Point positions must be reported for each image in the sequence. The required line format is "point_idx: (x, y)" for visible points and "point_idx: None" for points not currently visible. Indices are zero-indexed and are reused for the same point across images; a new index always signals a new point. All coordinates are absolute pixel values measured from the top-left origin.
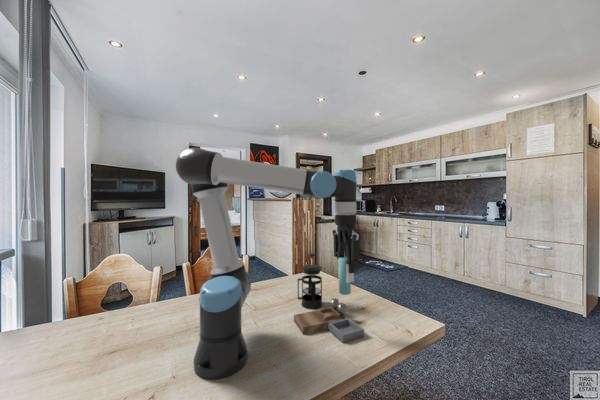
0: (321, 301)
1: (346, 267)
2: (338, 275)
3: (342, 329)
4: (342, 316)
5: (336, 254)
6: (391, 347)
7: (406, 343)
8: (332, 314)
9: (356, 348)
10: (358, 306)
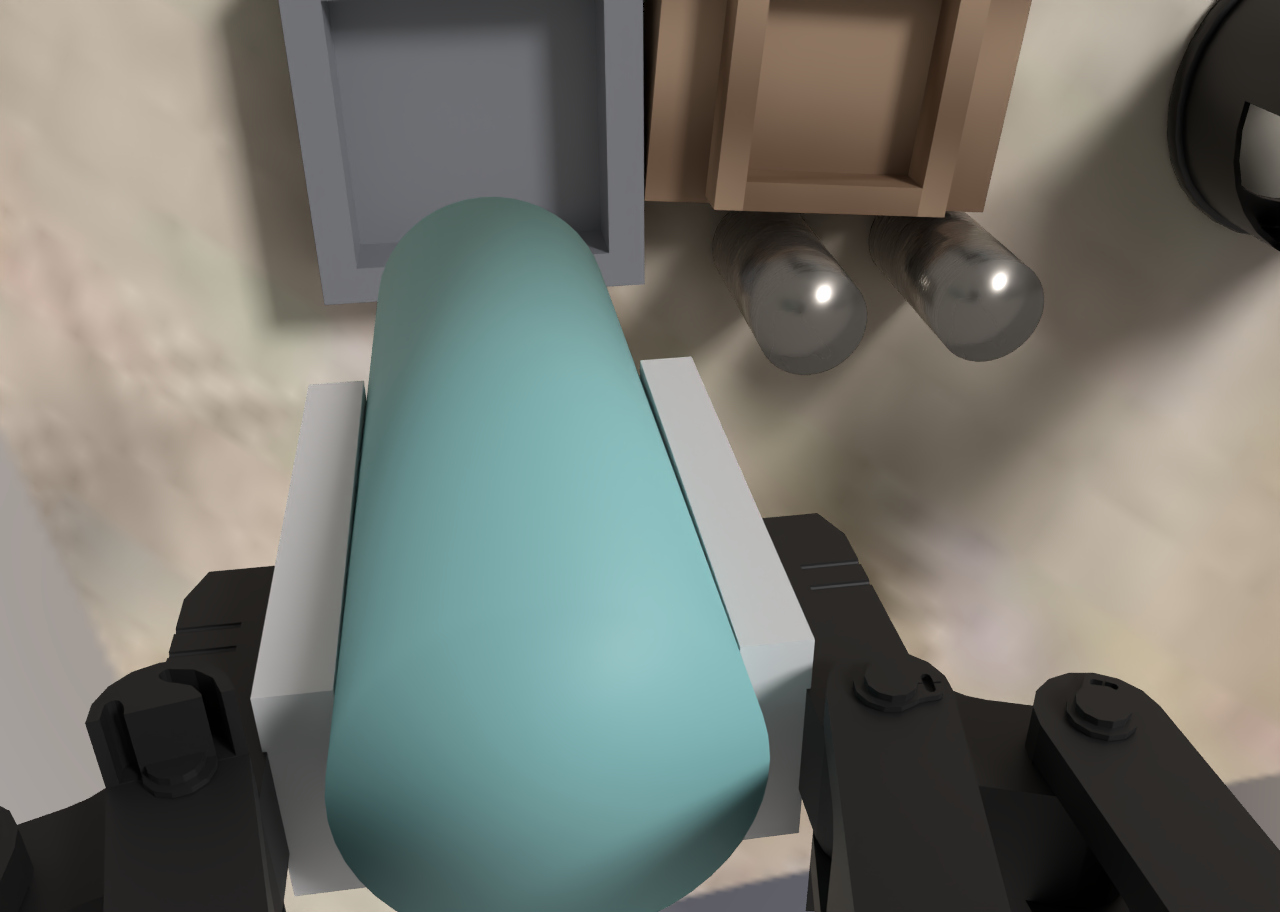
0: (1228, 211)
1: (323, 604)
2: (697, 387)
3: (528, 105)
4: (732, 248)
5: (1054, 774)
6: (49, 404)
7: (78, 570)
8: (818, 142)
9: (129, 40)
10: (916, 578)
